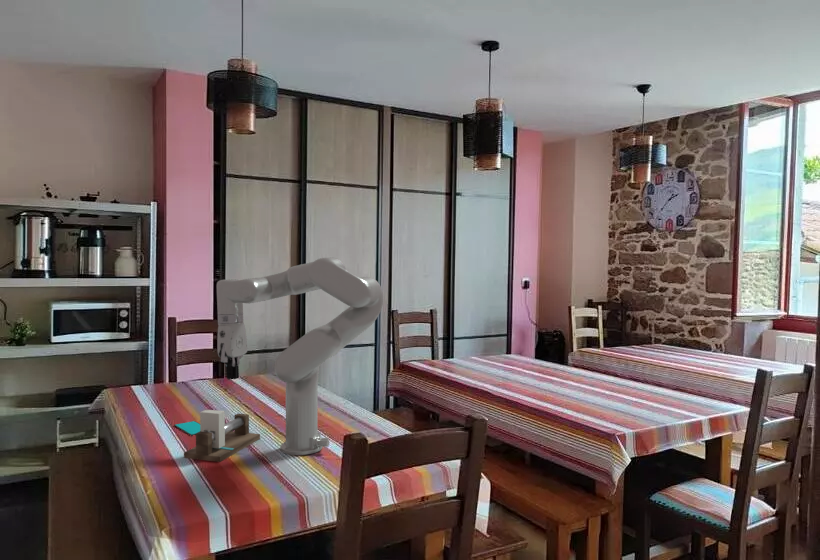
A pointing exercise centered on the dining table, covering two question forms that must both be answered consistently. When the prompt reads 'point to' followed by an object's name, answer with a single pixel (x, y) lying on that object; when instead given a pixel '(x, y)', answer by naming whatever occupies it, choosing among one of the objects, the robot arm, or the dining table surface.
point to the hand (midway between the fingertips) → (233, 378)
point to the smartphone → (189, 427)
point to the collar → (214, 425)
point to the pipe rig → (232, 441)
